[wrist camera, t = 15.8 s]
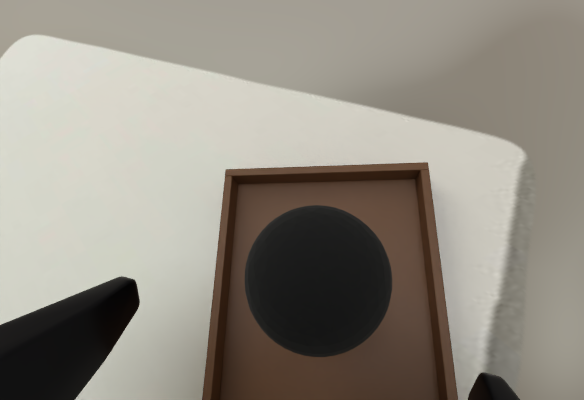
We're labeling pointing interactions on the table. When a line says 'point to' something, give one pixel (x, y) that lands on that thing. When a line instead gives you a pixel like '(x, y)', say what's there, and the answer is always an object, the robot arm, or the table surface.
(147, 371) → the table surface
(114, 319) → the robot arm
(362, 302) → the light bulb
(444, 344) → the tray
